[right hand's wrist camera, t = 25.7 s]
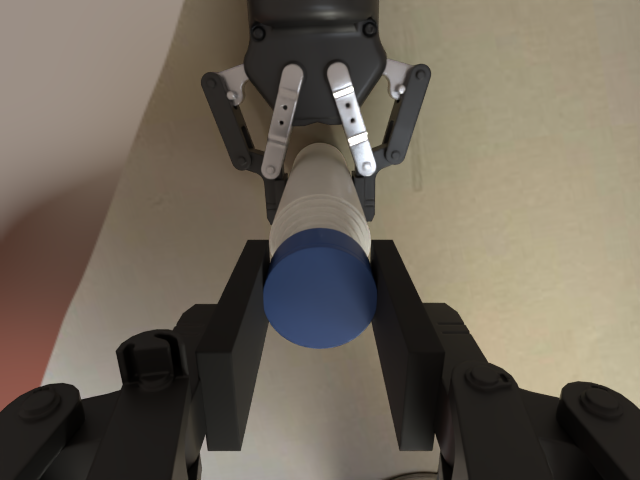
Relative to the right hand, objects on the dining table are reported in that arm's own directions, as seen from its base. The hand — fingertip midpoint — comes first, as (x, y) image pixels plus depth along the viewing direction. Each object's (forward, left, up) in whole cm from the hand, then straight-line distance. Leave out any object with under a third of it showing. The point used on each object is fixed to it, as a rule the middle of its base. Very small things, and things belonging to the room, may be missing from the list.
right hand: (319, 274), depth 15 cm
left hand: (-1, +2, -13) cm, 13 cm away
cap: (0, 0, +2) cm, 2 cm away
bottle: (0, 0, -20) cm, 20 cm away
